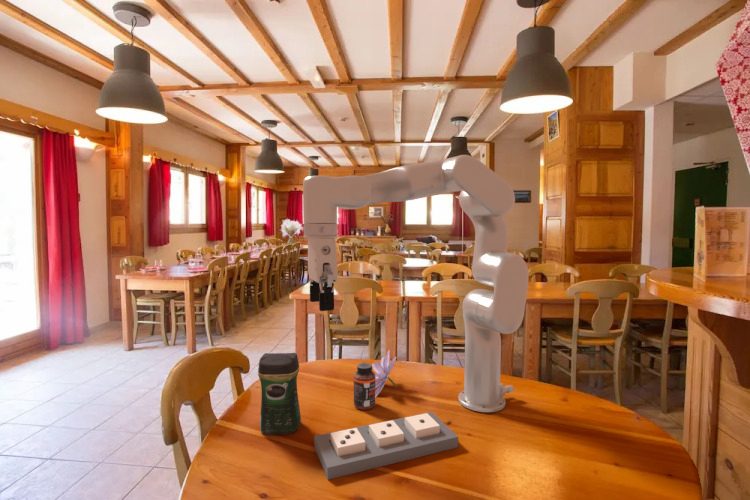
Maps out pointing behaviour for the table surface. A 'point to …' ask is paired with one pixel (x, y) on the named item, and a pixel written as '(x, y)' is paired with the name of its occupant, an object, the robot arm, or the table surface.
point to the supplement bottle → (364, 387)
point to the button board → (382, 449)
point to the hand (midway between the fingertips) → (321, 305)
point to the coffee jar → (279, 393)
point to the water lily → (383, 372)
